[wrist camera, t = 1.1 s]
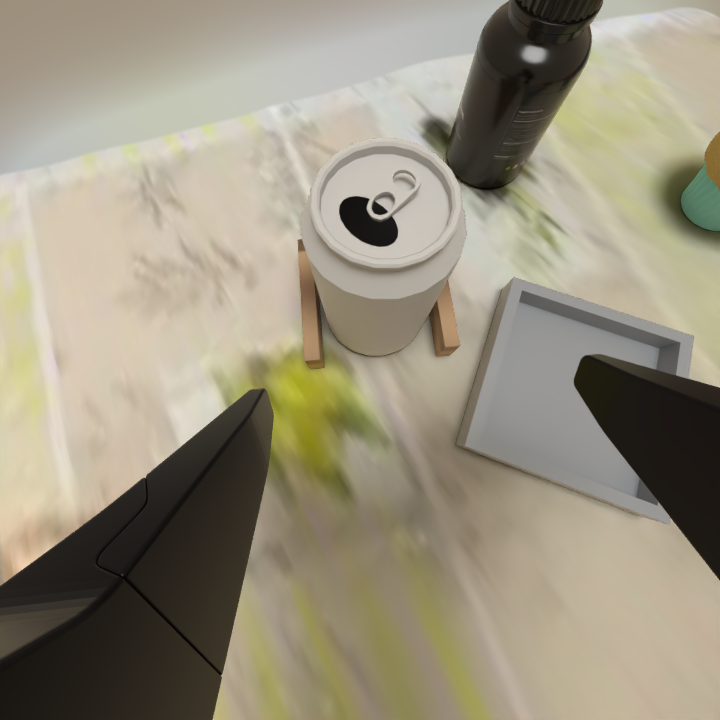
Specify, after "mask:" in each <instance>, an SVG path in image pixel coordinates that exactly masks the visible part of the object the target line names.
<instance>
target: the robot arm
mask: <svg viewBox="0 0 720 720" xmlns="http://www.w3.org/2000/svg"><path fill="white" fill-rule="evenodd" d="M574 386H575V388H576V390H577V391H578V393H579V395H580V396H581V398H582V399H583V401H584V402H585V404H586V406H587V407H588V409H589V410H590V412H591V413H592V415H593V417H594V418H595V420H596V421H597V423H598V424H599V426H600V427H601V429H602V430H603V432H604V433H605V435H606V436H607V437H608V439H609V440H610V441H611V442H612V444H613V445H614V446H615V448H616V449H617V450H618V451H619V453H620V454H621V455H622V456H623V458H624V459H625V460H626V462H627V463H628V464H629V465H630V467H631V468H632V469H633V470H634V472H635V473H636V474H637V476H638V477H639V478H640V479H641V481H642V482H643V483H644V484H645V486H646V487H647V488H648V490H649V491H650V492H651V493H652V495H653V496H654V497H655V499H656V500H657V501H658V502H659V504H660V505H661V506H662V507H663V509H664V510H665V511H666V513H667V514H668V515H669V516H670V518H671V519H672V520H673V521H674V523H675V524H676V525H677V527H678V528H679V529H680V530H681V532H682V533H683V534H684V535H685V537H686V538H687V539H688V541H689V542H690V543H691V544H692V546H693V547H694V548H695V550H696V551H697V552H698V553H699V555H700V556H701V557H702V558H703V560H704V561H705V562H706V564H707V565H708V566H709V567H710V569H711V570H712V571H713V572H714V574H715V575H716V576H717V578H718V579H719V580H720V388H719V387H715V386H712V385H708V384H705V383H701V382H698V381H694V380H691V379H687V378H684V377H680V376H677V375H673V374H670V373H666V372H663V371H659V370H656V369H652V368H648V367H645V366H641V365H638V364H634V363H631V362H627V361H624V360H620V359H617V358H613V357H610V356H606V355H603V354H591V355H585V356H583V357H582V358H581V360H580V362H579V365H578V368H577V371H576V374H575V377H574ZM272 429H273V410H272V406H271V403H270V399H269V396H268V393H267V391H266V389H264V388H261V389H252V390H249V391H248V392H247V393H246V394H244V395H243V396H242V397H241V398H240V399H238V400H237V401H236V402H235V403H233V404H232V405H231V406H230V407H229V408H227V409H226V410H225V411H224V412H223V413H221V414H220V415H219V416H218V417H216V418H215V419H214V420H213V421H212V422H210V423H209V424H208V425H207V426H206V427H204V428H203V429H202V430H201V431H199V432H198V433H197V434H196V435H195V436H193V437H192V438H191V439H190V440H189V441H187V442H186V443H185V444H184V445H182V446H181V447H180V448H179V449H178V450H176V451H175V452H174V453H173V454H172V455H170V456H169V457H168V458H167V459H165V460H164V461H163V462H162V463H161V464H159V465H158V466H157V467H156V468H155V469H153V470H152V471H151V472H150V473H148V474H147V475H146V478H142V479H141V480H140V481H139V482H137V483H136V484H135V485H134V486H133V487H131V488H130V489H129V490H128V491H126V492H125V493H124V494H123V495H121V496H120V497H119V498H118V499H116V500H115V501H114V502H113V503H111V504H110V505H109V506H108V507H106V508H105V509H104V510H103V511H101V512H100V513H99V514H97V515H96V516H95V517H93V518H92V519H91V520H89V521H88V522H87V523H85V524H84V525H83V526H81V527H80V528H79V529H77V530H76V531H75V532H73V533H72V534H71V535H69V536H68V537H66V538H65V539H64V540H62V541H61V542H60V543H58V544H57V545H56V546H54V547H53V548H51V549H50V550H49V551H47V552H46V553H45V554H43V555H42V556H41V557H39V558H38V559H36V560H35V561H34V562H32V563H31V564H30V565H28V566H27V567H25V568H24V569H23V570H21V571H20V572H19V573H17V574H16V575H15V576H13V577H12V578H10V579H9V580H8V581H6V582H5V583H4V584H2V585H1V586H0V720H213V715H214V711H215V706H216V702H217V697H218V693H219V688H220V684H221V679H222V677H221V675H222V673H223V670H224V665H225V661H226V656H227V652H228V647H229V643H230V638H231V634H232V629H233V625H234V620H235V616H236V611H237V607H238V602H239V598H240V594H241V589H242V585H243V580H244V576H245V571H246V567H247V562H248V558H249V553H250V549H251V544H252V540H253V535H254V531H255V526H256V522H257V517H258V513H259V509H260V504H261V500H262V495H263V491H264V486H265V482H266V477H267V472H268V467H269V459H270V449H271V439H272Z"/></svg>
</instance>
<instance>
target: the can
mask: <svg viewBox="0 0 720 720" xmlns="http://www.w3.org/2000/svg"><path fill="white" fill-rule="evenodd" d="M466 235H467V231H466V221H465V211H464V209H463V204H462V194H461V188H460V186H459V183H458V181H457V179H456V177H455V175H454V173H453V171H452V170H451V169H450V168H449V166H448V165H447V164H446V163H445V162H444V161H443V160H442V159H441V158H440V157H439V156H438V155H437V154H435V153H433V152H431V151H429V150H428V149H426V148H424V147H422V146H420V145H418V144H416V143H412V142H408V141H404V140H400V139H396V138H375V139H369V140H366V141H362V142H358V143H355V144H351V145H349V146H348V147H346V148H344V149H343V150H341V151H339V152H338V153H336V154H334V155H333V156H332V157H331V158H330V159H329V160H328V161H327V162H326V163H325V164H324V165H323V166H322V167H321V169H320V170H319V171H318V173H317V175H316V177H315V180H314V182H313V184H312V187H311V189H310V195H309V197H308V200H307V202H306V204H305V207H304V209H303V211H302V221H301V237H302V241H303V244H304V247H305V250H306V254H307V257H308V260H309V263H310V267H311V270H312V273H313V276H314V280H315V283H316V286H317V289H318V293H319V296H320V299H321V302H322V306H323V309H324V312H325V315H326V318H327V321H328V325H329V328H330V330H331V331H332V333H333V334H334V335H335V337H336V338H337V339H338V341H339V342H340V343H342V344H343V345H345V346H346V347H348V348H349V349H350V350H352V351H355V352H358V353H361V354H364V355H368V356H372V355H387V354H390V353H393V352H396V351H399V350H401V349H402V348H404V347H405V346H406V345H408V344H409V343H410V342H412V341H413V339H414V338H415V337H416V335H417V334H418V332H419V331H420V330H421V328H422V326H423V324H424V322H425V321H426V319H427V317H428V315H429V313H430V311H431V310H432V308H433V306H434V304H435V302H436V300H437V299H438V297H439V295H440V293H441V291H442V289H443V288H444V286H445V284H446V282H447V280H448V278H449V277H450V275H451V273H452V271H453V269H454V268H455V266H456V264H457V262H458V260H459V258H460V257H461V253H462V250H463V246H464V242H465V239H466Z"/></svg>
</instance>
